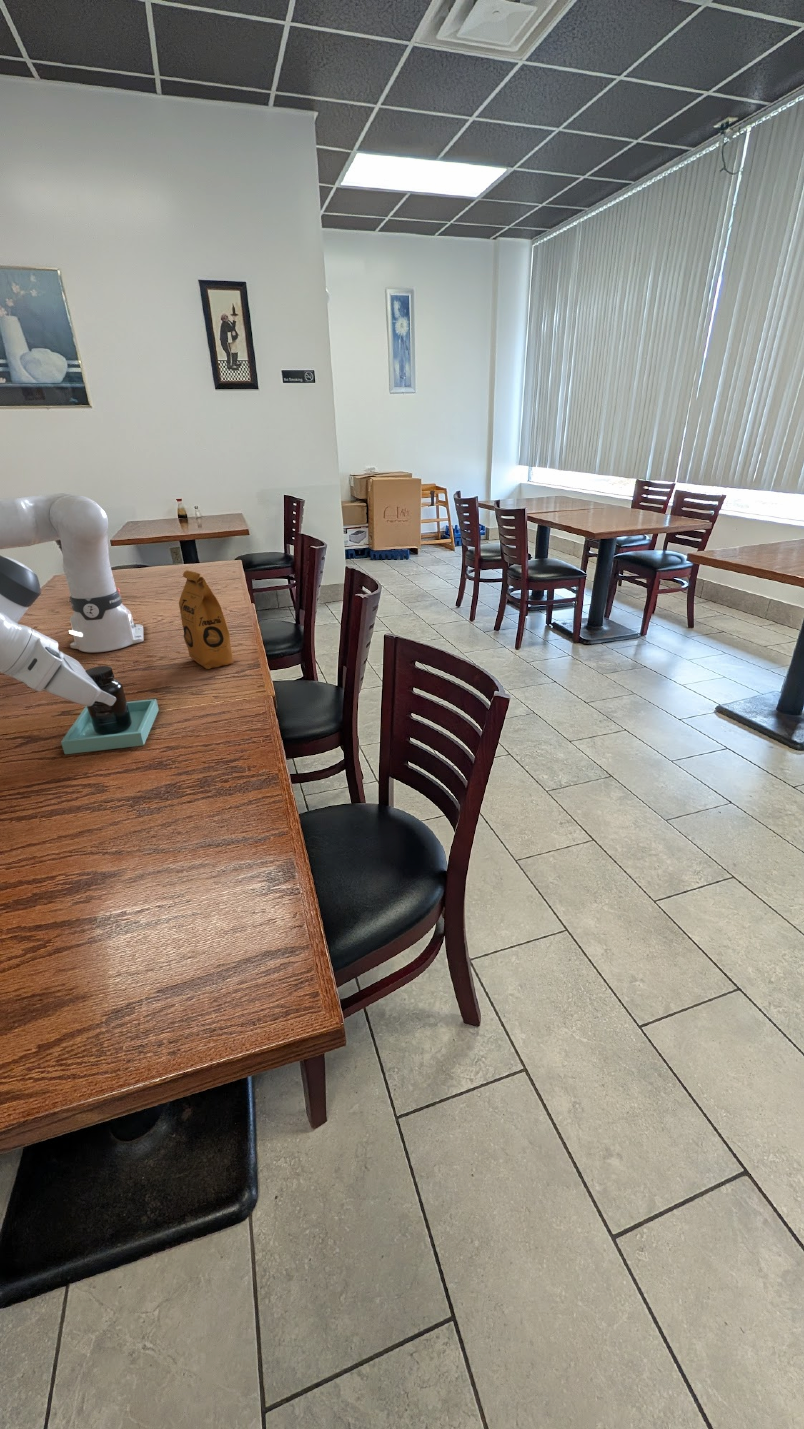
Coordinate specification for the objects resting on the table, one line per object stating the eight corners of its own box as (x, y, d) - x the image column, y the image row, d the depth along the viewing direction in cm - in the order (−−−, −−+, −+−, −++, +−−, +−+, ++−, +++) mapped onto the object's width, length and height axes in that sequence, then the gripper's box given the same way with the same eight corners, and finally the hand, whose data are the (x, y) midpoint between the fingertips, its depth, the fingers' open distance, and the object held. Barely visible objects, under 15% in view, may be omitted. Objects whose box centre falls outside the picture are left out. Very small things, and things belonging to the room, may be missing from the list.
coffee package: (198, 673, 140) (180, 581, 130) (185, 658, 149) (167, 571, 140) (239, 663, 145) (224, 574, 135) (224, 650, 154) (209, 566, 144)
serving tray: (89, 717, 119) (85, 705, 118) (158, 710, 122) (156, 698, 120) (64, 754, 106) (60, 741, 104) (143, 745, 108) (140, 732, 107)
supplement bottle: (140, 722, 115) (126, 665, 110) (114, 738, 109) (98, 678, 104) (112, 718, 117) (97, 662, 112) (86, 733, 112) (68, 675, 106)
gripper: (15, 657, 108) (86, 691, 118) (32, 691, 94) (112, 727, 103) (34, 629, 109) (104, 665, 118) (55, 658, 94) (132, 697, 104)
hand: (108, 694), depth 111 cm, fingers closed on supplement bottle, 7 cm apart
